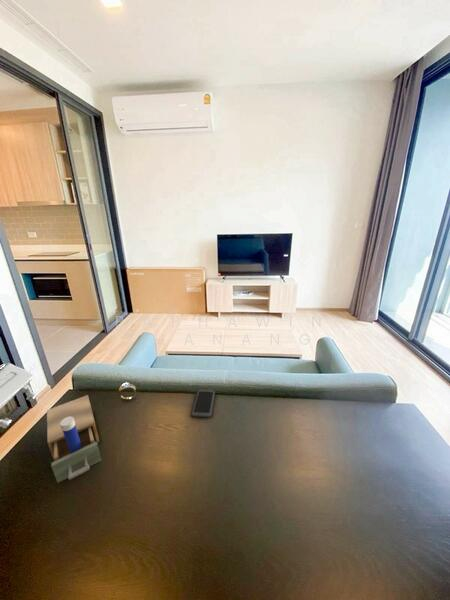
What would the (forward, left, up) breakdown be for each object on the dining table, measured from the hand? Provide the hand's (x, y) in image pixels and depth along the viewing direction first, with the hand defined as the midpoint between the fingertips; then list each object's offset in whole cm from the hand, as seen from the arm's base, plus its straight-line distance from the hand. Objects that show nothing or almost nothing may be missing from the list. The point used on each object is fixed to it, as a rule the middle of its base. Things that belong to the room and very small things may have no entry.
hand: (22, 410), depth 69 cm
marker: (+9, -6, -18) cm, 21 cm away
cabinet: (+9, +5, -20) cm, 23 cm away
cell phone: (+53, -9, -20) cm, 57 cm away
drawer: (+9, -6, -19) cm, 22 cm away
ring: (+29, +11, -20) cm, 37 cm away
